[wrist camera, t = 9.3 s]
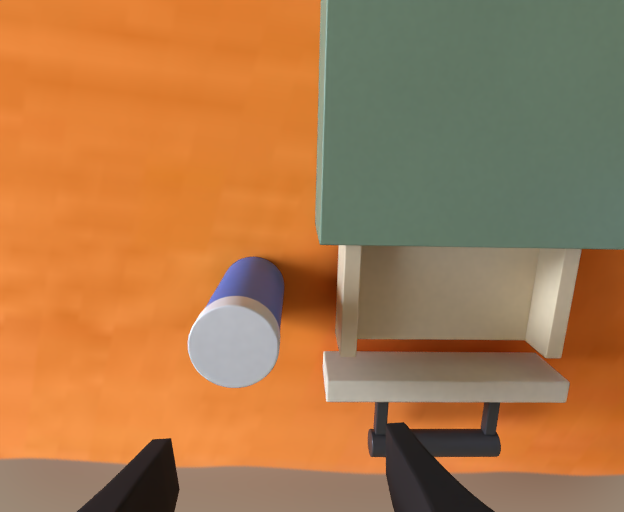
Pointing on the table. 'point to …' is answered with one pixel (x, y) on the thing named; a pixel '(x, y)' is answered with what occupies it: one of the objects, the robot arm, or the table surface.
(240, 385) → the medicine bottle
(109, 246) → the table surface
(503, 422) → the table surface
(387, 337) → the drawer
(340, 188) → the cabinet
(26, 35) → the table surface
